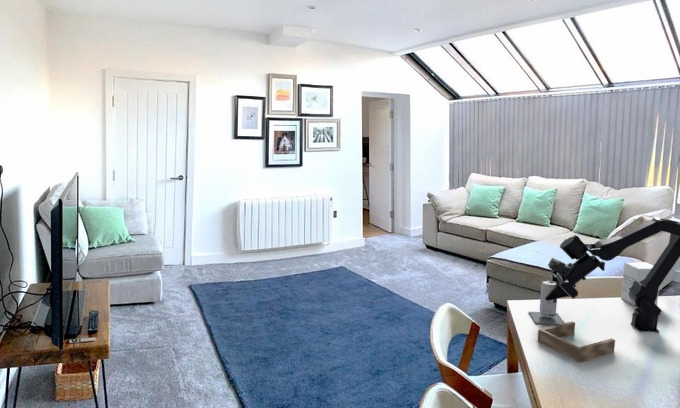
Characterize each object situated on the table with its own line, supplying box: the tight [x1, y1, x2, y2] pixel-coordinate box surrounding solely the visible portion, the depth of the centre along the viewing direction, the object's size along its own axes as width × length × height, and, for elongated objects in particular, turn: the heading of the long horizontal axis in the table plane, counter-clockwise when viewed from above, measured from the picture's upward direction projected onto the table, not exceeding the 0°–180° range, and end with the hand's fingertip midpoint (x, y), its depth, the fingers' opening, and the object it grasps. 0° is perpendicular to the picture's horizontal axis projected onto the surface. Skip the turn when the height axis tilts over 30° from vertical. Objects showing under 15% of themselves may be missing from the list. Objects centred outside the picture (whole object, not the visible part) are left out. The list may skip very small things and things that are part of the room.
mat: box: [528, 311, 566, 326], centre depth 173 cm, size 10×10×1 cm
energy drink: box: [539, 279, 558, 318], centre depth 171 cm, size 5×5×12 cm
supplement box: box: [620, 261, 660, 307], centre depth 188 cm, size 9×9×15 cm
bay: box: [537, 321, 616, 363], centre depth 151 cm, size 15×15×4 cm
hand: (544, 296), depth 172 cm, fingers closed on energy drink, 5 cm apart
